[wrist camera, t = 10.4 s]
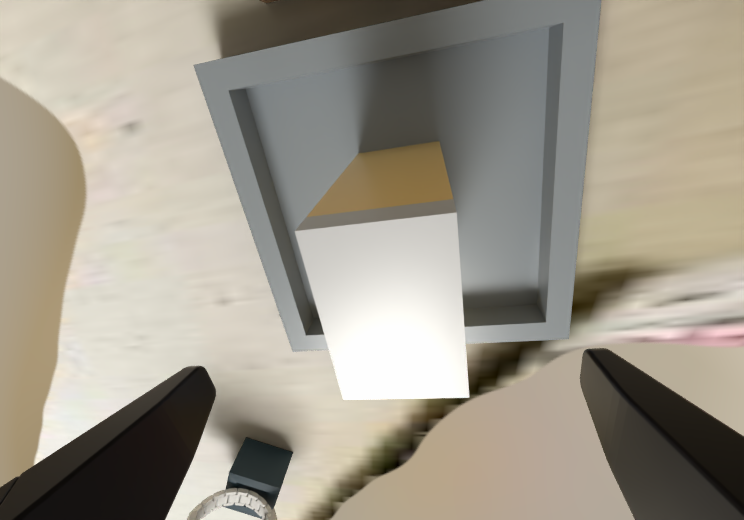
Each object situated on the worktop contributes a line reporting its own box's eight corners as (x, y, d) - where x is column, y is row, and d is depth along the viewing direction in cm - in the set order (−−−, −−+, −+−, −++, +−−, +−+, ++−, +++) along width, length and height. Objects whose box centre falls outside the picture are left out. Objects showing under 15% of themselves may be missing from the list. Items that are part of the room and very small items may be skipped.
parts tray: (576, -11, 14) (603, -27, 12) (553, 311, 21) (568, 338, 19) (222, 66, 17) (193, 65, 15) (304, 326, 24) (292, 351, 22)
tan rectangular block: (439, 141, 17) (456, 212, 8) (448, 252, 20) (469, 397, 11) (358, 153, 18) (294, 231, 9) (377, 259, 20) (343, 399, 12)
